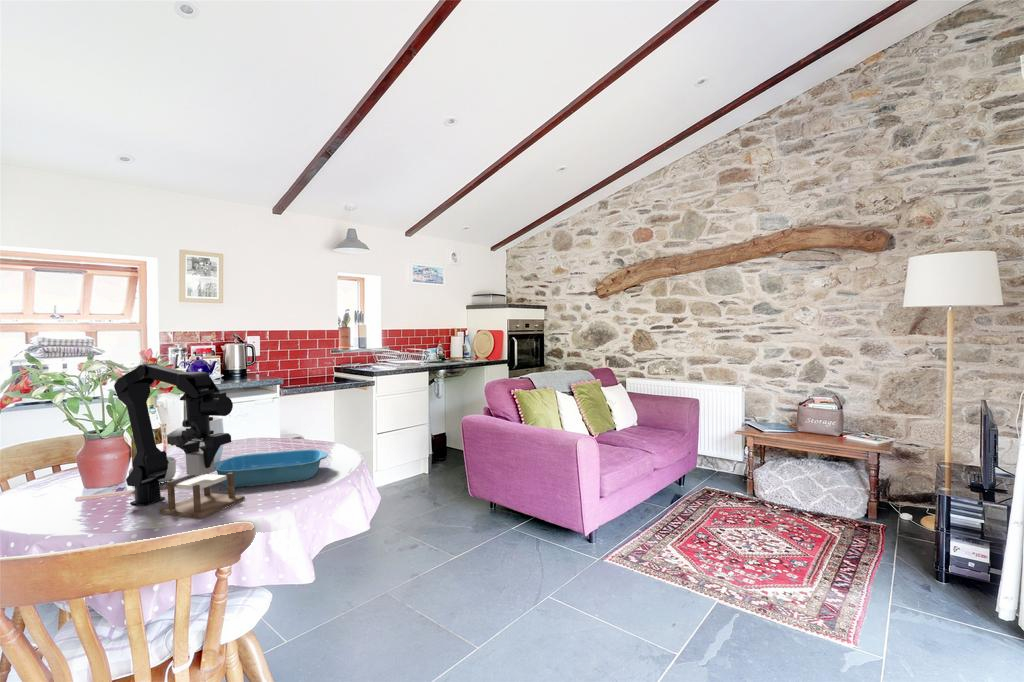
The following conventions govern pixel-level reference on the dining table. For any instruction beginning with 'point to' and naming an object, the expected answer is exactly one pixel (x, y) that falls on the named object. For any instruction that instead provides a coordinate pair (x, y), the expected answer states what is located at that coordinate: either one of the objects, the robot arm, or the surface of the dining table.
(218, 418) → the cup
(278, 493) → the dining table surface
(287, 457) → the casserole dish
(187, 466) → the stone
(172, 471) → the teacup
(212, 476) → the trapdoor
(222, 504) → the trapdoor stand
